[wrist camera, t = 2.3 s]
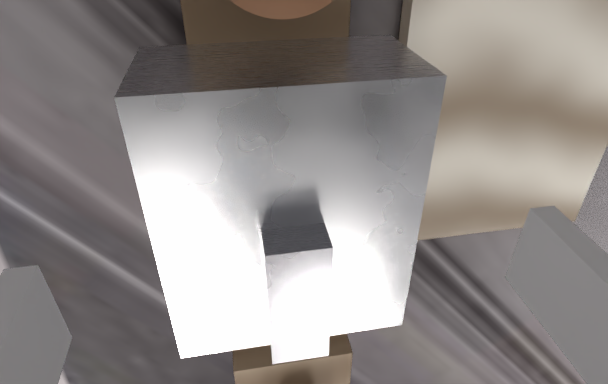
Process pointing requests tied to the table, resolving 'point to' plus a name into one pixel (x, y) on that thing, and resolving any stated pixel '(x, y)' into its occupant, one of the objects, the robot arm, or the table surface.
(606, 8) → the ash board
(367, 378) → the table surface
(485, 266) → the table surface
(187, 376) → the table surface
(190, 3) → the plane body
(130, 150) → the white block with stub
